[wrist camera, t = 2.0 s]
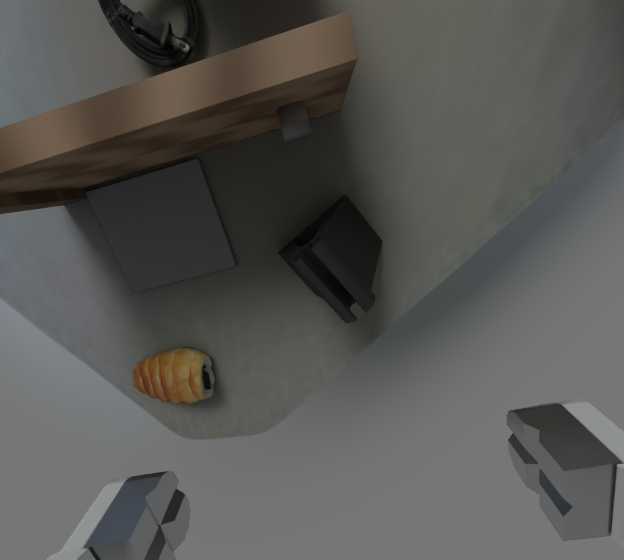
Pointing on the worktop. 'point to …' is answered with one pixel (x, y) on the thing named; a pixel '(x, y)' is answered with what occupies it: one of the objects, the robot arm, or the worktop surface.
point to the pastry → (176, 376)
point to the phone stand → (337, 258)
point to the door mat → (163, 226)
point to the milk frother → (153, 33)
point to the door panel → (178, 115)
